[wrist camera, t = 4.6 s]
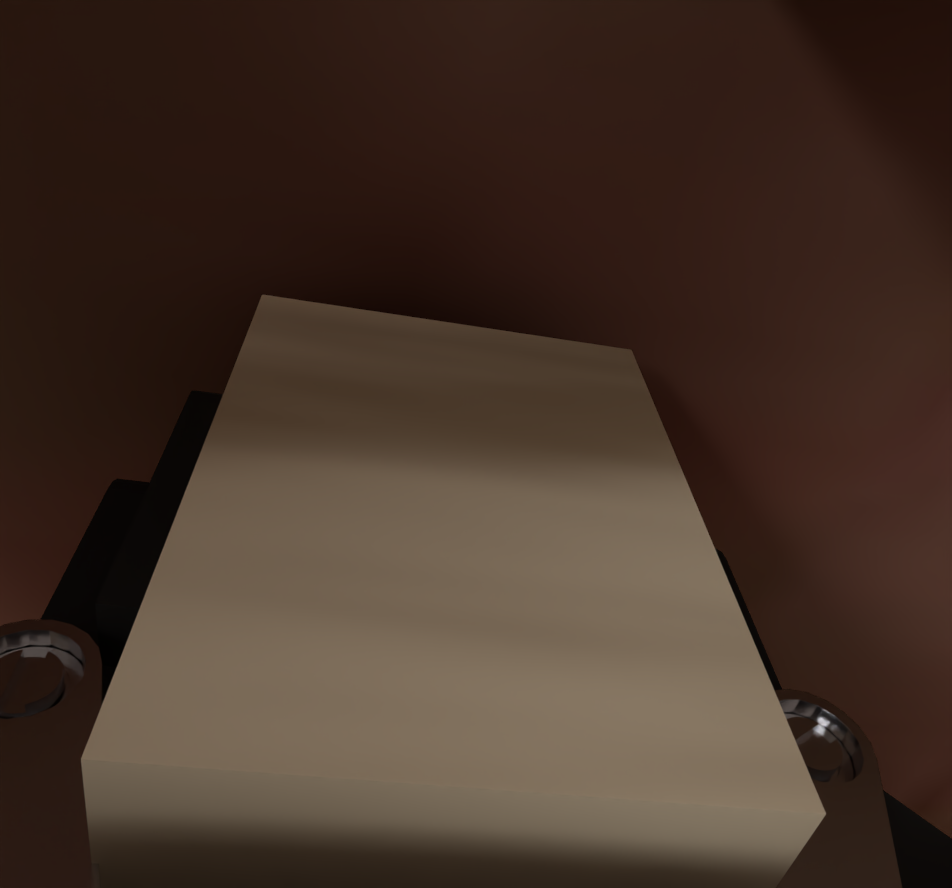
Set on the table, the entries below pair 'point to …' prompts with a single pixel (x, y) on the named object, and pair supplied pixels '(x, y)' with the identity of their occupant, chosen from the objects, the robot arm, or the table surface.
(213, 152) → the table surface
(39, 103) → the table surface
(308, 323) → the beech block
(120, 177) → the table surface
